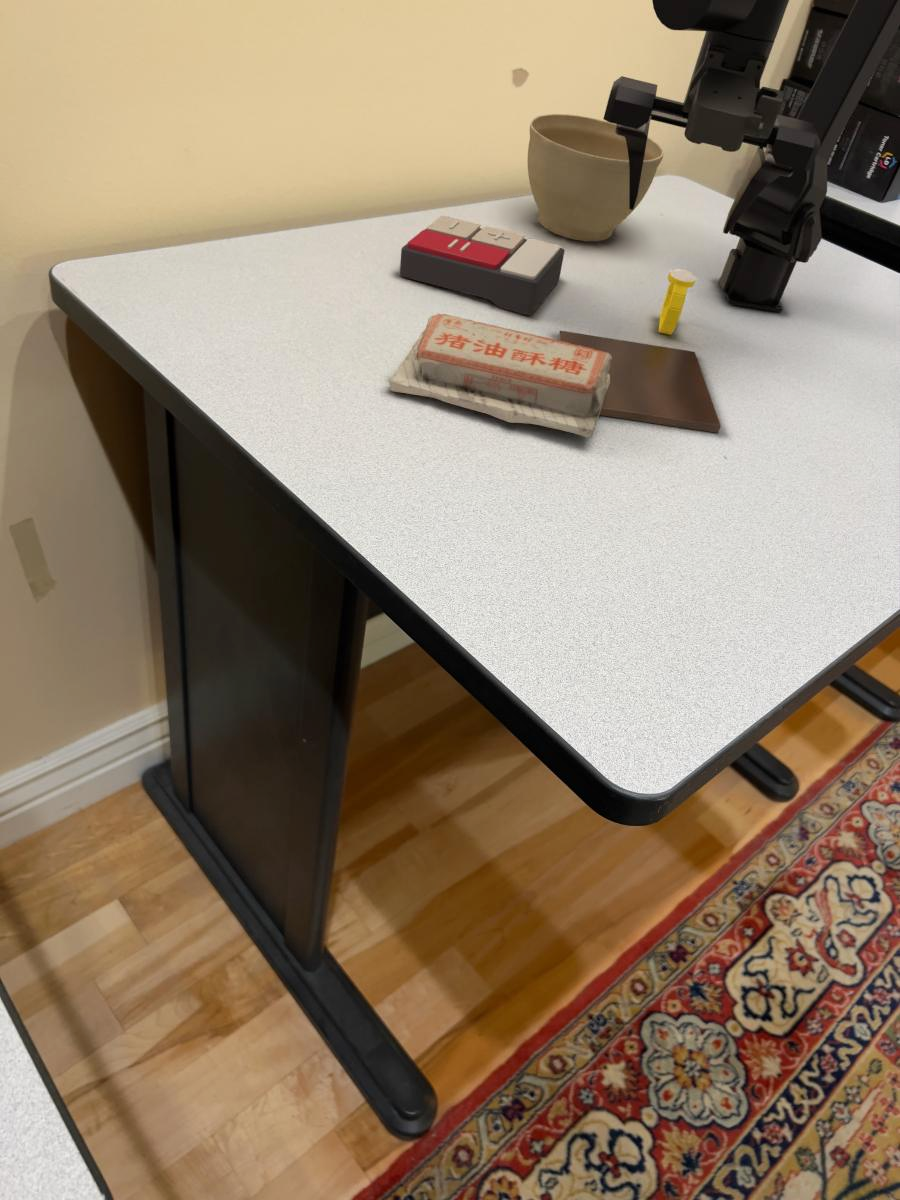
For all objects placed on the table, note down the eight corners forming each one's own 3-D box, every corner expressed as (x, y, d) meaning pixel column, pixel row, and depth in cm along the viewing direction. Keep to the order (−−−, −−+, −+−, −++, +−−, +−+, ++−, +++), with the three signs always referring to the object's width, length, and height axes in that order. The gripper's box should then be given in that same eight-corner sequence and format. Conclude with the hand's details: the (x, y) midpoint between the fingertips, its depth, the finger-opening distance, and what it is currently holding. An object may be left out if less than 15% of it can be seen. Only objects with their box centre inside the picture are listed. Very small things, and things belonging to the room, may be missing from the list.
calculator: (439, 210, 99) (567, 241, 96) (435, 249, 102) (560, 280, 99) (400, 240, 92) (538, 275, 88) (397, 281, 94) (531, 316, 91)
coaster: (692, 358, 90) (694, 351, 90) (718, 433, 80) (721, 425, 80) (557, 337, 89) (559, 329, 89) (566, 410, 79) (568, 402, 78)
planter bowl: (622, 267, 105) (650, 171, 98) (495, 229, 108) (513, 132, 100) (648, 226, 117) (675, 138, 109) (533, 193, 119) (552, 104, 112)
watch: (652, 313, 97) (670, 260, 93) (677, 319, 97) (696, 266, 93) (651, 337, 92) (669, 282, 88) (677, 343, 92) (696, 288, 88)
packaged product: (621, 338, 78) (603, 392, 71) (609, 387, 81) (590, 443, 74) (426, 294, 80) (390, 341, 73) (422, 343, 84) (387, 393, 77)
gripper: (628, 19, 69) (575, 222, 79) (864, 76, 68) (779, 274, 78) (635, 1, 77) (586, 187, 87) (845, 52, 76) (771, 234, 87)
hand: (678, 220), depth 85 cm, fingers open, 9 cm apart
